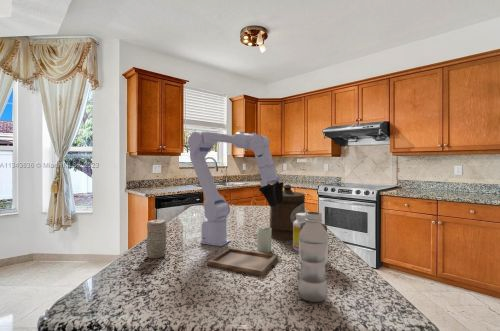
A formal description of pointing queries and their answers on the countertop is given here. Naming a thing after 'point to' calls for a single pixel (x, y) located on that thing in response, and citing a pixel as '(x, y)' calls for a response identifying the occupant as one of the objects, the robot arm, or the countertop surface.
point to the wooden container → (286, 214)
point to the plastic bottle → (313, 259)
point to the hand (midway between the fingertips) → (277, 204)
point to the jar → (300, 248)
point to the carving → (156, 238)
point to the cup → (264, 239)
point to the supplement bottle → (297, 229)
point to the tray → (243, 261)
